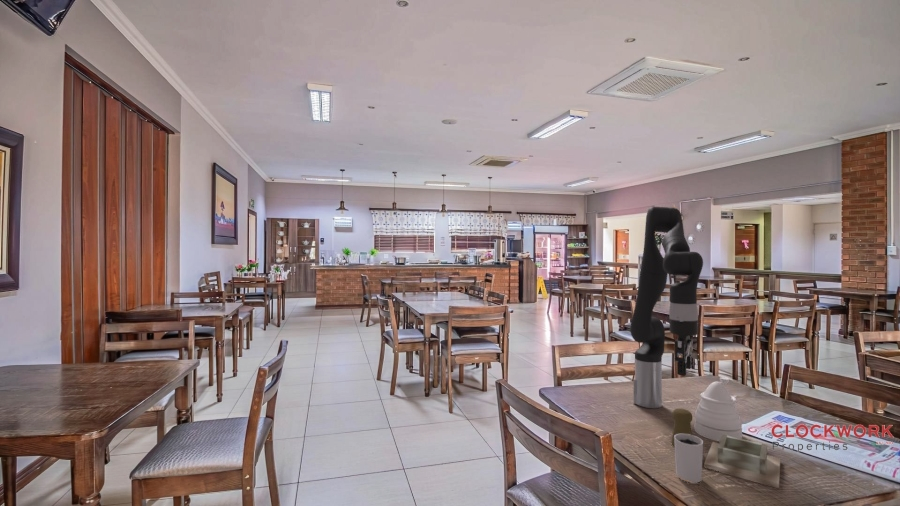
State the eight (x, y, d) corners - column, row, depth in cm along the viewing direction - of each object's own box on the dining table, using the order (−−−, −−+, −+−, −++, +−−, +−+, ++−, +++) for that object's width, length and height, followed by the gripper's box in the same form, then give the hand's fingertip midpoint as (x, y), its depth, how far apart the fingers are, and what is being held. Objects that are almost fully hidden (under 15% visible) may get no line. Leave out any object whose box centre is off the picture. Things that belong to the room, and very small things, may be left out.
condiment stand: (704, 467, 114) (704, 448, 114) (712, 445, 126) (712, 428, 126) (778, 488, 104) (778, 467, 103) (780, 462, 116) (780, 443, 116)
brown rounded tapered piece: (697, 452, 122) (697, 414, 122) (674, 450, 123) (674, 413, 123) (689, 442, 128) (689, 407, 128) (668, 441, 129) (668, 405, 129)
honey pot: (734, 427, 139) (734, 373, 138) (748, 445, 126) (748, 385, 126) (690, 422, 143) (690, 370, 143) (699, 439, 131) (699, 381, 130)
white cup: (668, 471, 112) (668, 434, 112) (692, 469, 113) (692, 432, 112) (684, 485, 105) (684, 445, 105) (709, 483, 106) (709, 444, 106)
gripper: (674, 314, 134) (675, 364, 134) (664, 320, 123) (665, 375, 122) (701, 316, 129) (702, 368, 129) (693, 322, 118) (695, 379, 118)
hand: (684, 371), depth 126 cm, fingers open, 8 cm apart
